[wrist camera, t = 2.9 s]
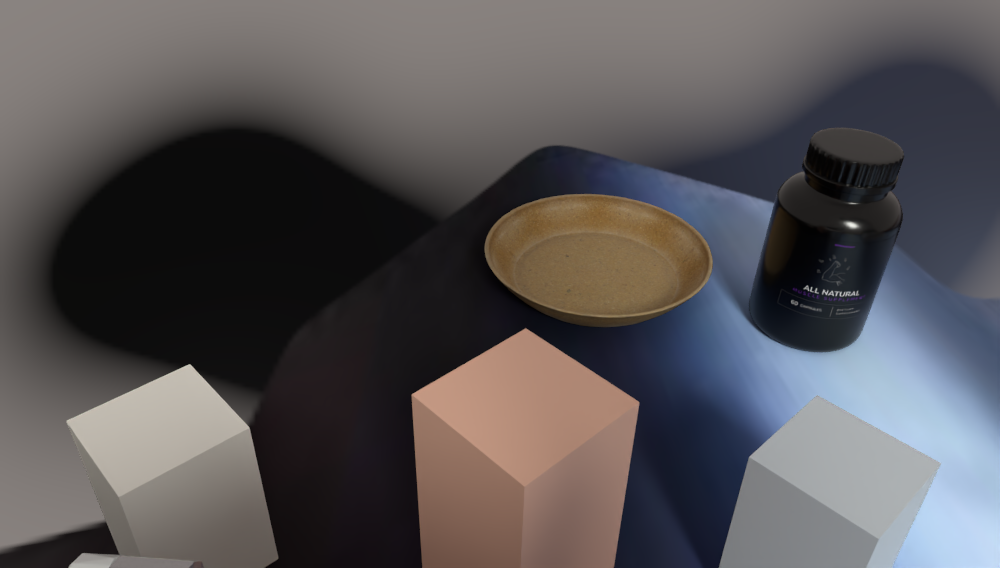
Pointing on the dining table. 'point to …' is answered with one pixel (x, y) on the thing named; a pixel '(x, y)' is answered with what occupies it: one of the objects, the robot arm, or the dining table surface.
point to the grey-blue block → (827, 495)
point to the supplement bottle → (829, 241)
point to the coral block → (521, 461)
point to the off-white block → (177, 474)
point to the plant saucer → (598, 258)
